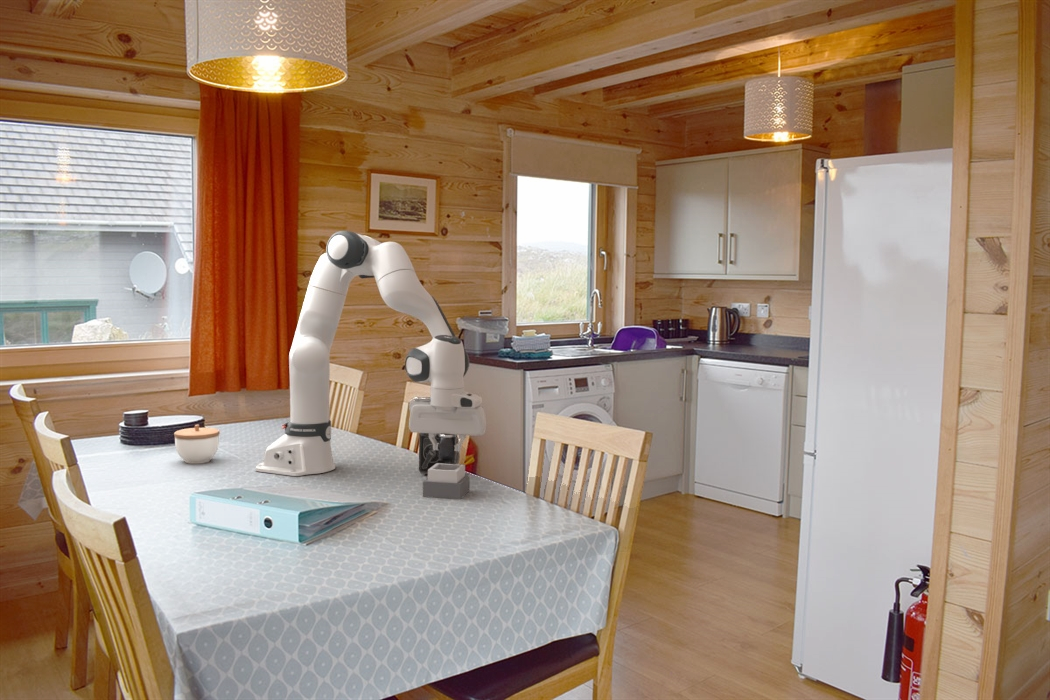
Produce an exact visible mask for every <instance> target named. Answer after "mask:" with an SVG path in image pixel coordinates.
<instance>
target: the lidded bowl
mask: <svg viewBox="0 0 1050 700" xmlns="http://www.w3.org/2000/svg"><path fill="white" fill-rule="evenodd" d="M173 435H174V445H175V449H176V452H177V455H178V456H179V458H181V460H183V461H184V463H185V464H193V465H195V464H205V463H209V462H210V461H211V460H212V458H213V457H214V456H215V455H216V454H217V452H218V449H219V444H220V429H218V428H214V427H200V424H195V425H194V427H188V428H184V429H183V428H182V429H179V430H176V431H175V432H174V433H173Z"/></svg>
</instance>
